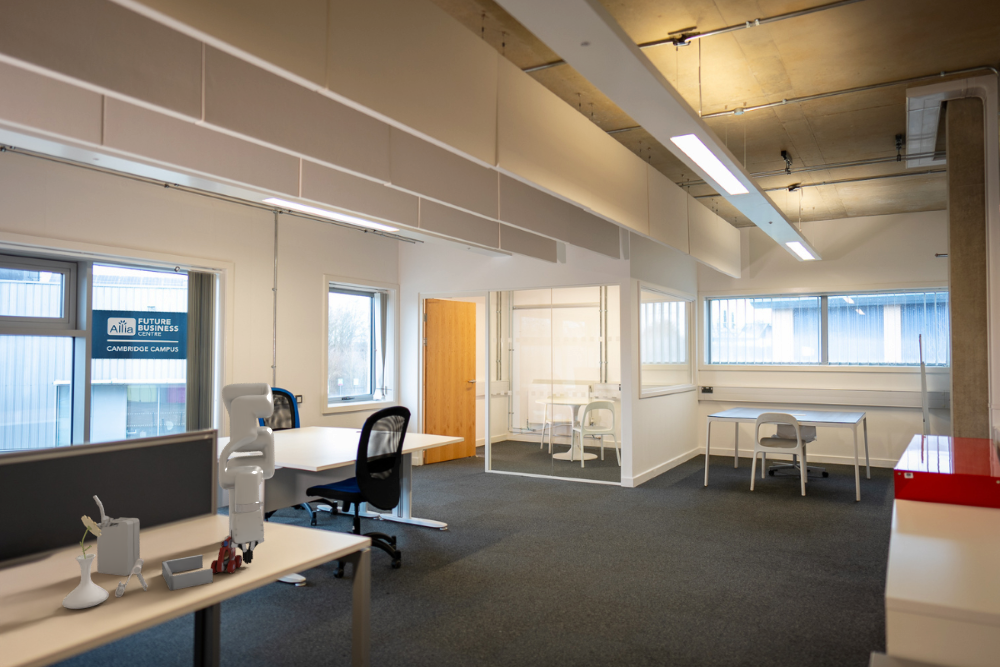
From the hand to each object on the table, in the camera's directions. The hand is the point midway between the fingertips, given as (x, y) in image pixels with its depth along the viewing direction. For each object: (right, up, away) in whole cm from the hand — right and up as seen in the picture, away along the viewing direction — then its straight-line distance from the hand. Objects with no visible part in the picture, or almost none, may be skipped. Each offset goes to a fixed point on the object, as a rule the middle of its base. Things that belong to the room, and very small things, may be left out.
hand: (247, 562), depth 221 cm
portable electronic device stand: (-27, -2, -21) cm, 34 cm away
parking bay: (-15, -1, -10) cm, 18 cm away
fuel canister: (-43, -2, -3) cm, 43 cm away
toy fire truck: (-6, -2, -4) cm, 7 cm away
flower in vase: (-35, -2, -31) cm, 47 cm away
